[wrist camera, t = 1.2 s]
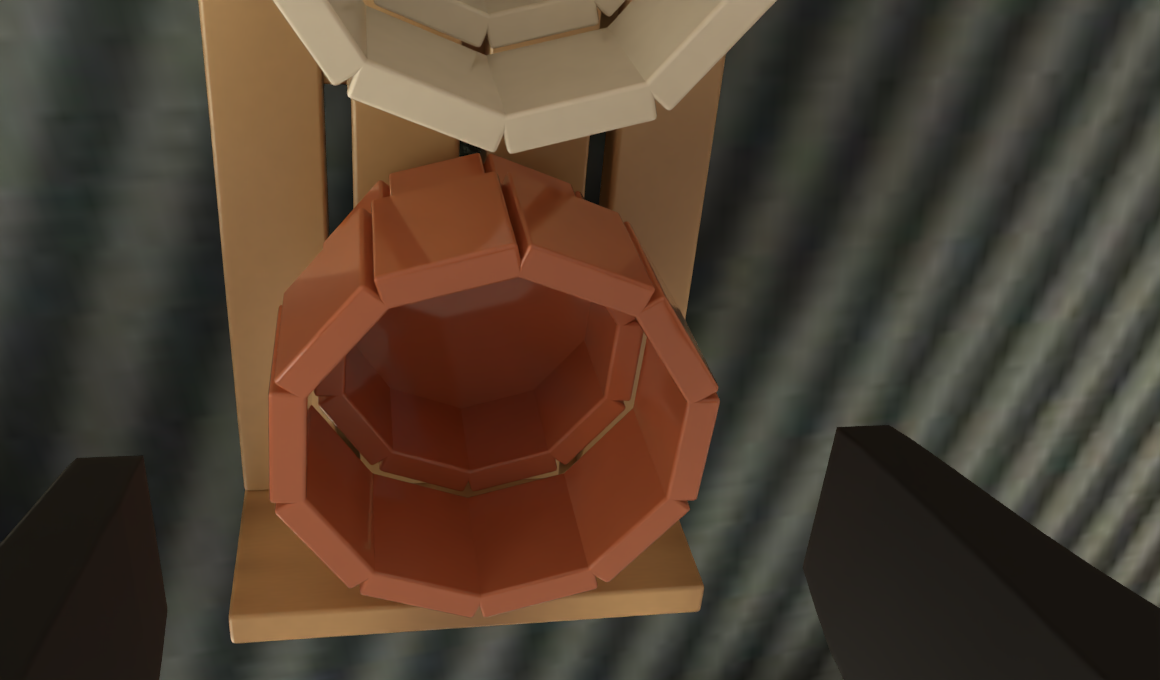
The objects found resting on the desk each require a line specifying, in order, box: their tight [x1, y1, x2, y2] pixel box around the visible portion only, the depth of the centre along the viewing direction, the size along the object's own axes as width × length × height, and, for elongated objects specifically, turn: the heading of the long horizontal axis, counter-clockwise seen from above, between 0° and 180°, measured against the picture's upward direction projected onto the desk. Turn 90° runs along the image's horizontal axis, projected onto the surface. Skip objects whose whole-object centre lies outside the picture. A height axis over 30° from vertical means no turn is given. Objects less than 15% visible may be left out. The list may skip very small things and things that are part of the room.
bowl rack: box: [198, 0, 726, 643], centre depth 16 cm, size 8×16×6 cm, turn 175°
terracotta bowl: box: [268, 153, 720, 618], centre depth 16 cm, size 6×6×4 cm
